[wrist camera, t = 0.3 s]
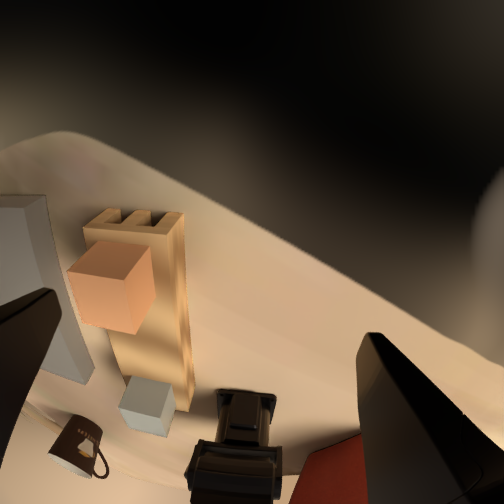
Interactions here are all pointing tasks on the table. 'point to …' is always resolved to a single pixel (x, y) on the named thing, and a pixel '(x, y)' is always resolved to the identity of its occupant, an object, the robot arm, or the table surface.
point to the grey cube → (148, 406)
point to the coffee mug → (79, 447)
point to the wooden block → (154, 302)
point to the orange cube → (113, 285)
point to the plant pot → (333, 476)
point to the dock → (40, 279)
